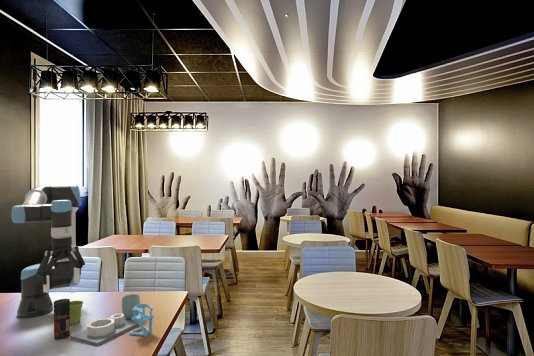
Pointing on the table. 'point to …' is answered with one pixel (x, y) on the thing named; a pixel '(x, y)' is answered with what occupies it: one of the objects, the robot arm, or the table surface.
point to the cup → (130, 305)
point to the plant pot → (75, 311)
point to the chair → (142, 320)
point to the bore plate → (103, 338)
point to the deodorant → (61, 319)
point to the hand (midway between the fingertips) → (62, 287)
